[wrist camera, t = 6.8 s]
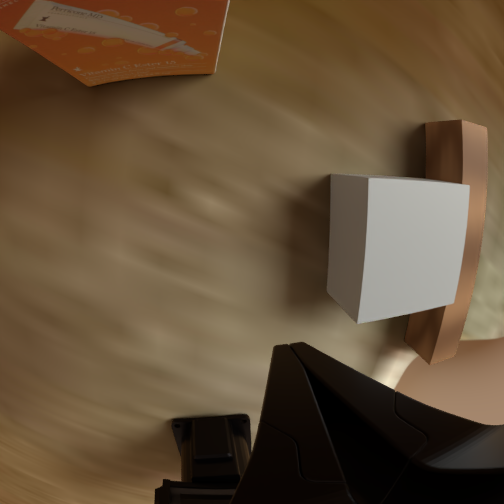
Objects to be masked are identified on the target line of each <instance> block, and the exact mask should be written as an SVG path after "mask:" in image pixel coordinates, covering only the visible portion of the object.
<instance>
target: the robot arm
mask: <svg viewBox="0 0 504 504" xmlns="http://www.w3.org/2000/svg"><path fill="white" fill-rule="evenodd" d="M244 419H245V420H244ZM172 429H173V433H174V436H175V439H176V442H177V446H178V449H179V452H180V455H181V482H180V481H170V480H168V479H163V485H162V486H161V487H160V488H157V489H155V502H154V504H504V425H485V424H481V423H478V422H474V421H471V420H468V419H465V418H462V417H459V416H456V415H453V414H450V413H447V412H444V411H442V410H439V409H436V408H433V407H431V406H428V405H426V404H423V403H421V402H419V401H416V400H414V399H412V398H410V397H408V396H406V395H404V394H402V393H400V392H398V391H397V392H395V390H393V389H391V388H389V387H387V386H385V385H383V384H382V383H380V382H378V381H376V380H374V379H372V378H370V377H368V376H366V375H364V374H362V373H360V372H358V371H356V370H354V369H352V368H351V367H349V366H347V365H345V364H343V363H341V362H339V361H337V360H336V359H334V358H332V357H330V356H328V355H326V354H324V353H323V352H321V351H319V350H317V349H315V348H314V347H312V346H310V345H308V344H306V343H304V342H297V343H291V344H289V345H288V344H283V345H275V346H274V347H273V352H272V358H271V363H270V369H269V374H268V380H267V385H266V390H265V396H264V401H263V406H262V411H261V416H260V423H259V425H258V430H257V435H256V439H255V443H254V446H253V450H252V453H251V430H250V418H249V416H248V415H246V414H241V415H231V416H219V417H205V418H185V419H174V420H172Z"/></svg>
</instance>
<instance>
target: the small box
mask: <svg viewBox="0 0 504 504" xmlns="http://www.w3.org/2000/svg"><path fill="white" fill-rule="evenodd" d="M229 2H230V0H0V30H2V31H3V32H5V33H6V34H8V35H10V36H11V37H13V38H14V39H16V40H18V41H19V42H21V43H22V44H24V45H26V46H27V47H29V48H30V49H32V50H33V51H35V52H37V53H38V54H40V55H41V56H43V57H44V58H46V59H47V60H49V61H50V62H52V63H54V64H55V65H57V66H58V67H60V68H61V69H63V70H64V71H66V72H67V73H69V74H70V75H72V76H73V77H75V78H76V79H78V80H79V81H80V82H82V83H84V84H85V85H86V86H88V87H91V86H95V85H99V84H104V83H109V82H115V81H121V80H128V79H136V78H144V77H153V76H166V75H183V74H214V73H215V71H216V66H217V60H218V55H219V51H220V46H221V40H222V35H223V30H224V25H225V20H226V15H227V10H228V6H229Z"/></svg>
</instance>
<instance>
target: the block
mask: <svg viewBox="0 0 504 504" xmlns="http://www.w3.org/2000/svg"><path fill="white" fill-rule="evenodd" d="M469 193H470V185H465V184H459V183H453V182H446V181H439V180H432V179H425V178H412V177H398V176H381V175H359V174H331V201H330V238H329V260H328V278H327V293H328V294H329V295H330V296H331V297H332V298H333V299H334V300H335V301H336V302H337V303H338V304H339V305H340V306H341V307H342V308H343V309H344V310H345V312H346V313H347V314H348V315H349V316H350V317H351V318H352V319H353V320H354V321H355V322H356V323H357V324H360V323H366V322H371V321H376V320H382V319H387V318H392V317H397V316H401V315H406V314H411V313H415V312H420V311H424V310H428V309H433V308H437V307H441V306H445V305H449V304H453V303H454V300H455V296H456V291H457V286H458V281H459V276H460V270H461V264H462V258H463V252H464V245H465V237H466V229H467V219H468V208H469Z"/></svg>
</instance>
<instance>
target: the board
mask: <svg viewBox="0 0 504 504" xmlns="http://www.w3.org/2000/svg"><path fill="white" fill-rule="evenodd" d="M425 130H426V179H432V180H439V181H446V182H453V183H459V184H465V185H470V193H469V208H468V219H467V229H466V237H465V245H464V252H463V258H462V264H461V270H460V276H459V281H458V286H457V291H456V296H455V300H454V303H453V304H449V305H445V306H441V307H437V308H433V309H428V310H424V311H420V312H415V313H411V314H410V317H409V322H408V326H407V331H406V335H405V339H404V341H405V342H406V343H407V344H408V345H409V346H410V347H411V348H412V349H413V350H414V351H415V352H416V353H417V354H419V355H420V356H421V357H422V358H423V359H424V360H425V361H426V362H427V363H428V364H429V365H431V364H434V363H437V362H439V361H442V360H445V359H448V358H451V357H453V356H455V353H456V350H457V347H458V344H459V341H460V338H461V334H462V331H463V328H464V324H465V321H466V317H467V313H468V309H469V305H470V301H471V297H472V293H473V288H474V283H475V279H476V274H477V268H478V263H479V257H480V251H481V244H482V237H483V228H484V219H485V209H486V195H487V171H488V146H487V128H486V127H483V126H480V125H477V124H474V123H471V122H468V121H464V120H451V121H439V122H429V123H425Z"/></svg>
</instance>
